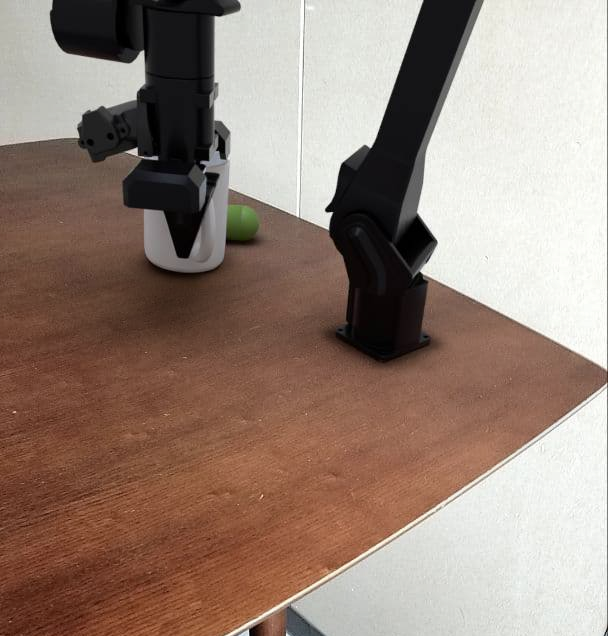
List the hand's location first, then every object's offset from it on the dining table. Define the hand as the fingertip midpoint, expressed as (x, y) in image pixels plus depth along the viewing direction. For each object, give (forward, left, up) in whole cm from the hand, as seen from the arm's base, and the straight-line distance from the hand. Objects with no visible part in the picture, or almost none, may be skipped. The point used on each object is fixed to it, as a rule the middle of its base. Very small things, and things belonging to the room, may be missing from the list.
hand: (183, 257), depth 81 cm
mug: (+5, -4, -4) cm, 8 cm away
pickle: (+11, -12, -4) cm, 16 cm away
